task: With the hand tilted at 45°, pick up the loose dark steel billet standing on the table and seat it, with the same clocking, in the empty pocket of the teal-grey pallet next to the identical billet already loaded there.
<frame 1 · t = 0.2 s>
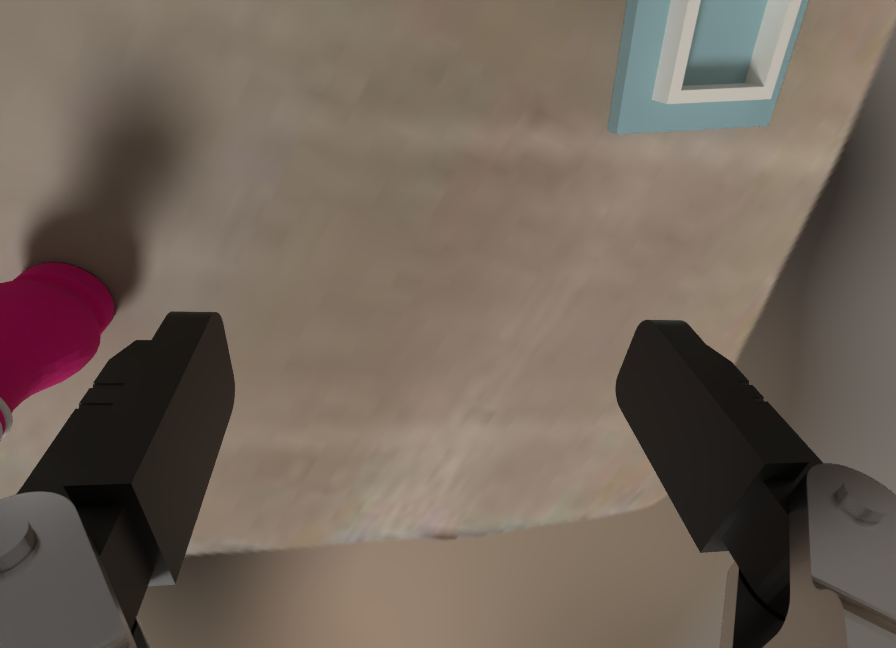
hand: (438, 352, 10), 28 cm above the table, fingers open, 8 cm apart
pepper mill: (69, 298, 37), on the table
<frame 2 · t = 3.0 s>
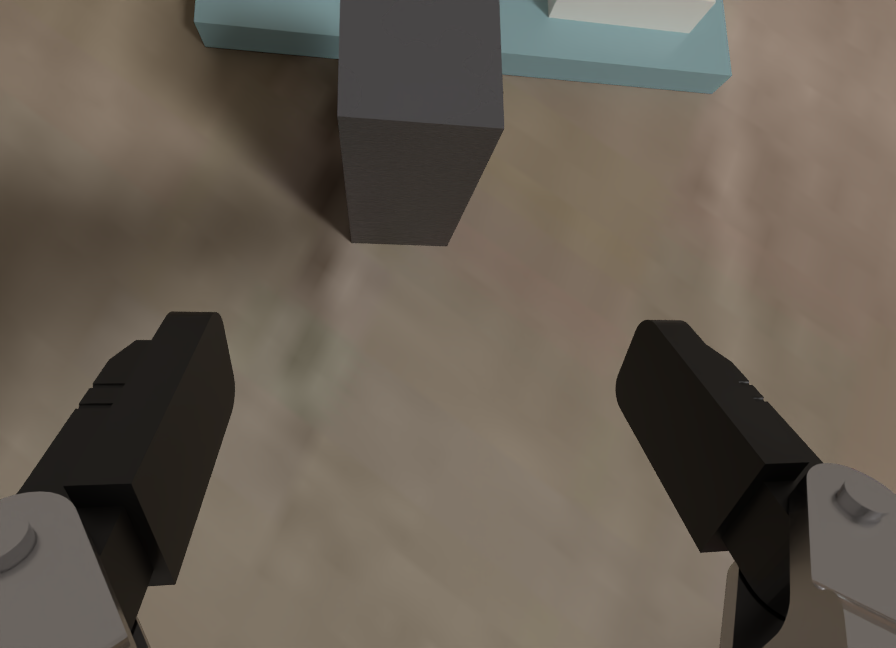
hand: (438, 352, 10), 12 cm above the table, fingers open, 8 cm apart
loose billet: (400, 199, 23), on the table
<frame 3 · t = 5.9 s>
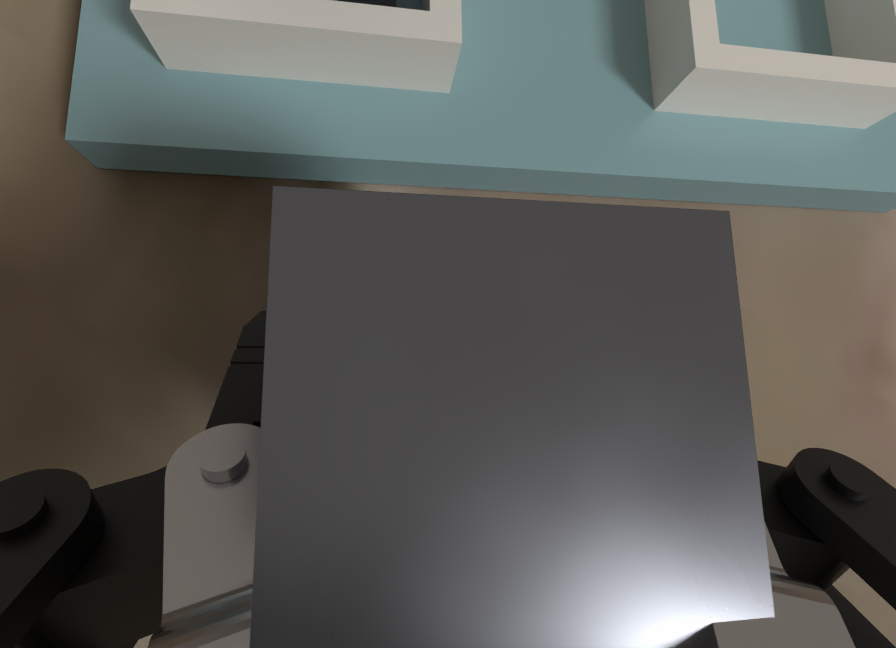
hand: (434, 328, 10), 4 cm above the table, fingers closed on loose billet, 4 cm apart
loose billet: (417, 416, 14), on the table, touching gripper
pallet: (533, 27, 17), on the table
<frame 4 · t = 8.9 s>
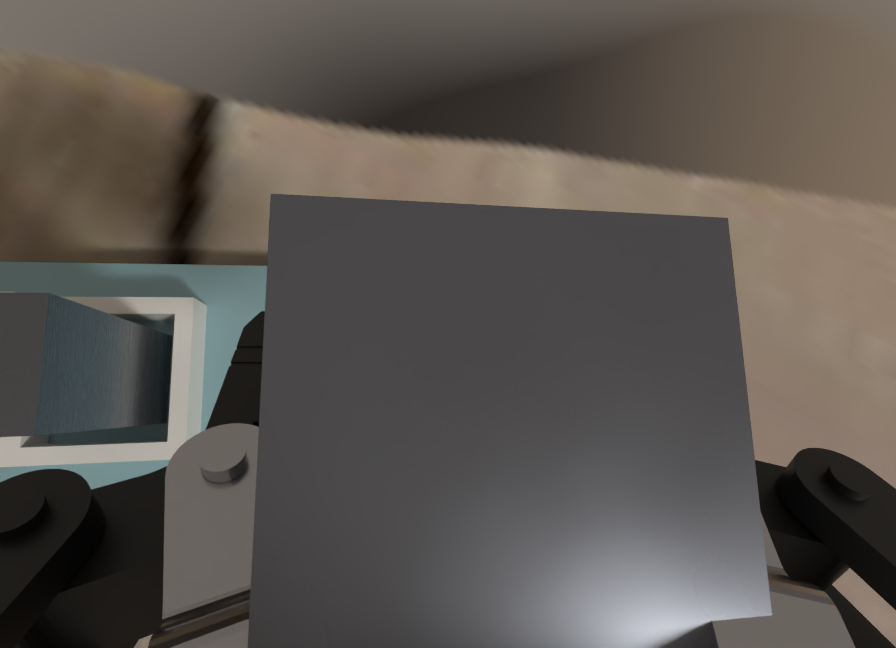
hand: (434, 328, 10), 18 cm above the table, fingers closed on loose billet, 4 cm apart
loose billet: (417, 419, 14), point 14 cm above the table, touching gripper
seated billet: (121, 379, 24), point 1 cm above the table, touching pallet
pallet: (273, 378, 27), on the table
when the fingers open (7 cm above the table, at t = 12.0 s): loose billet drops 1 cm, resting on pallet.
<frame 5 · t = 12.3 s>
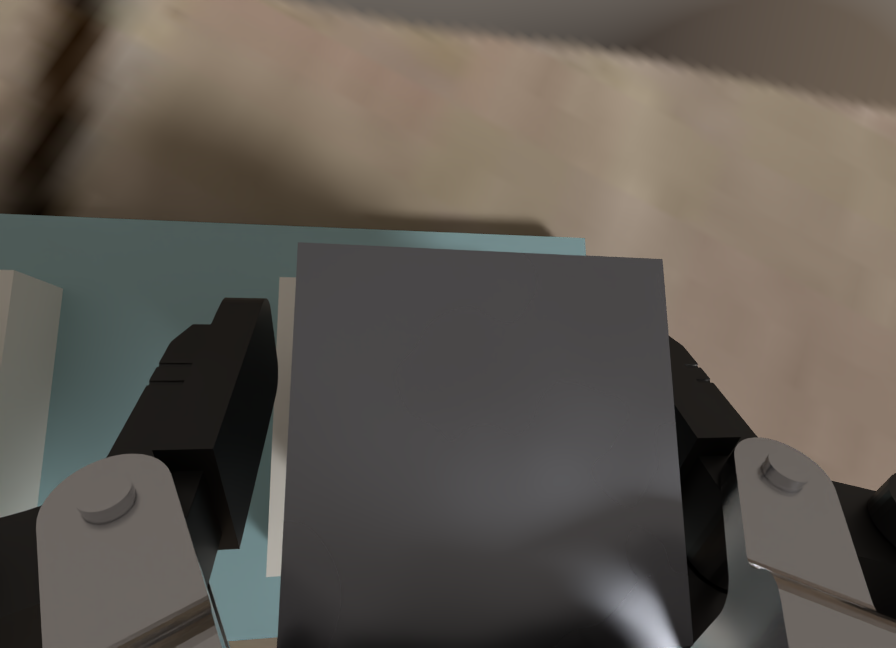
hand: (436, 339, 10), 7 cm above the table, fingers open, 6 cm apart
loose billet: (414, 420, 15), point 2 cm above the table, touching pallet
pallet: (189, 418, 16), on the table
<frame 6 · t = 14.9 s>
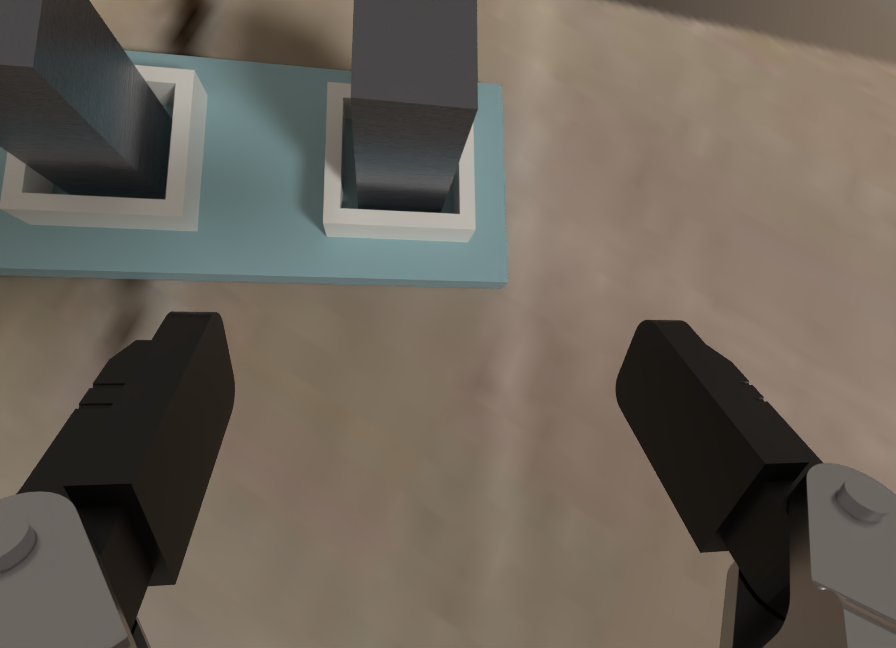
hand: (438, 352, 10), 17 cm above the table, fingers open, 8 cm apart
loose billet: (400, 176, 27), point 1 cm above the table, touching pallet
seated billet: (123, 156, 25), point 1 cm above the table, touching pallet
pallet: (272, 178, 27), on the table
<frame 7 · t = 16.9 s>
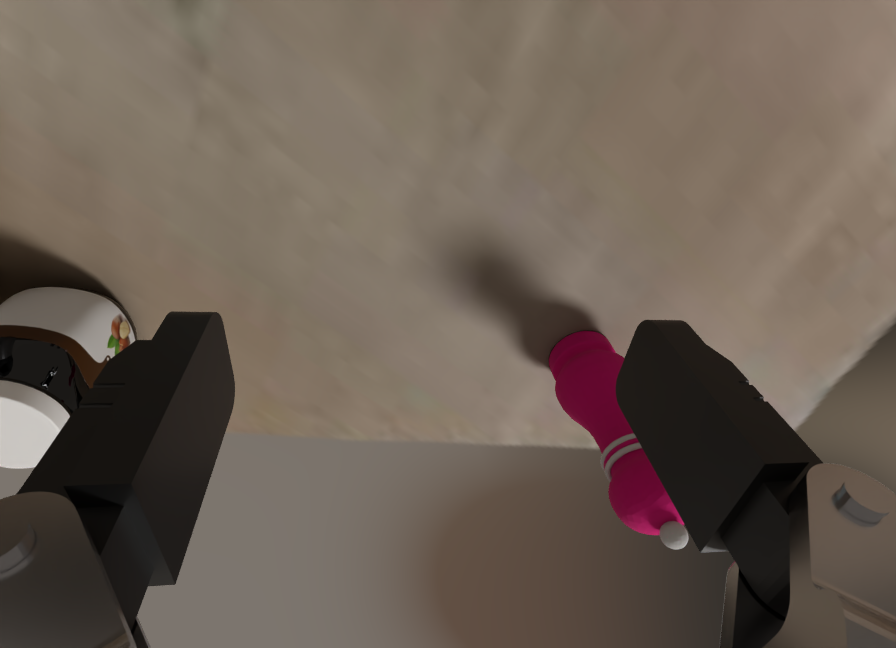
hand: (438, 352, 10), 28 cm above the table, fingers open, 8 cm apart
pepper mill: (578, 354, 48), on the table
spread jar: (61, 313, 39), on the table
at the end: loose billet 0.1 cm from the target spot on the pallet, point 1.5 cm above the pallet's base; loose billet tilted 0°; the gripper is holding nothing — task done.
